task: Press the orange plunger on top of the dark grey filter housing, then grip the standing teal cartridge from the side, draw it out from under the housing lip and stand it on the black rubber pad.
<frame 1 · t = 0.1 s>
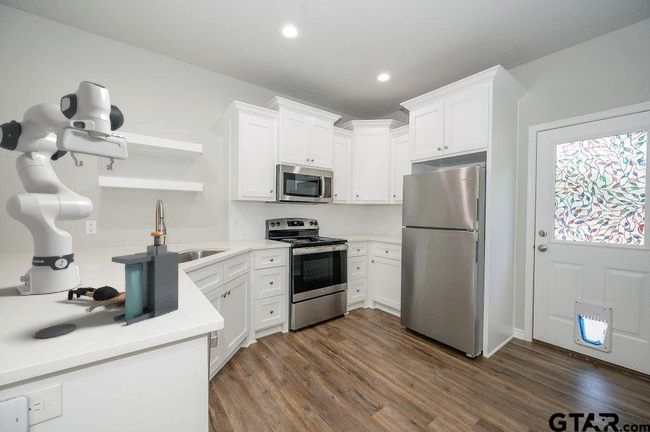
hand: (95, 168, 97), 48 cm above the counter, tool pointing down, fingers open, 8 cm apart
cartridge: (134, 318, 84), resting in housing
housing: (144, 314, 86), on the counter
pad: (56, 331, 74), on the counter
plunger: (157, 239, 89), point 24 cm above the counter, slide at 0.0 cm
figurine: (107, 303, 97), on the counter
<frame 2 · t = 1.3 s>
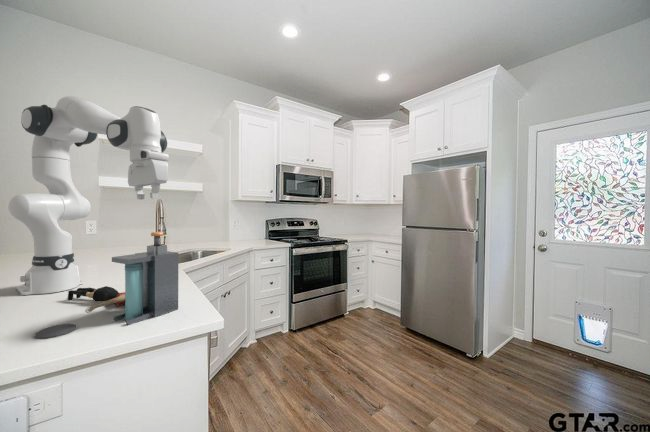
hand: (147, 198, 90), 37 cm above the counter, tool pointing down, fingers open, 8 cm apart
nothing on the counter moved.
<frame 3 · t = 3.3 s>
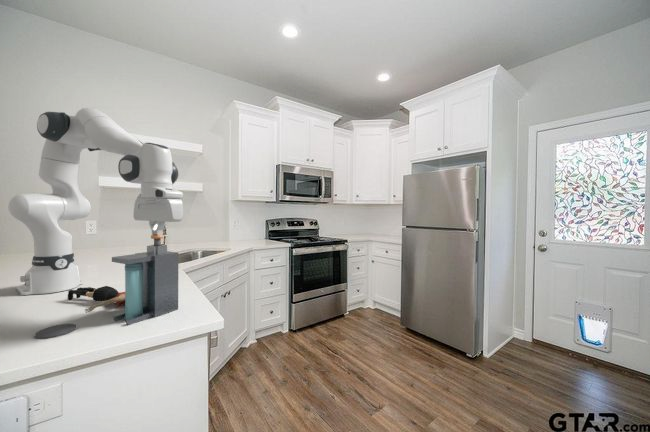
hand: (157, 235, 89), 25 cm above the counter, tool pointing down, fingers closed, pressing on plunger
plunger: (157, 241, 89), point 23 cm above the counter, slide at 0.9 cm, touching gripper
everything else where it was.
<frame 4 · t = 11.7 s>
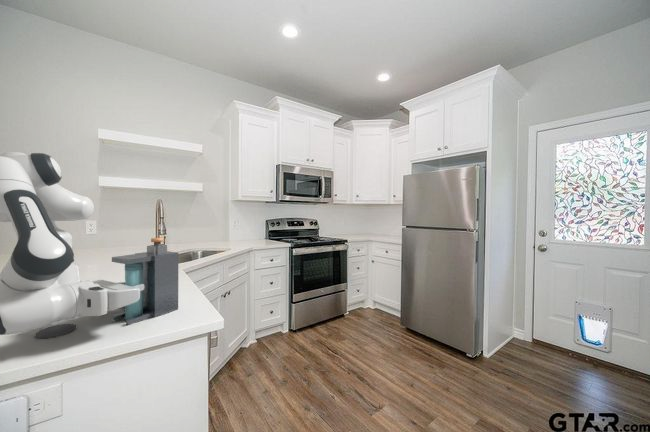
hand: (137, 285, 84), 10 cm above the counter, tool horizontal, fingers closed on cartridge, 4 cm apart
cartridge: (134, 318, 83), resting in housing, touching gripper
plunger: (157, 245, 89), point 22 cm above the counter, slide at 2.0 cm
everything else where it was.
when the fingers open (12 cm above the counter, at t = 18.1 s): cartridge drops 1 cm, resting on pad.
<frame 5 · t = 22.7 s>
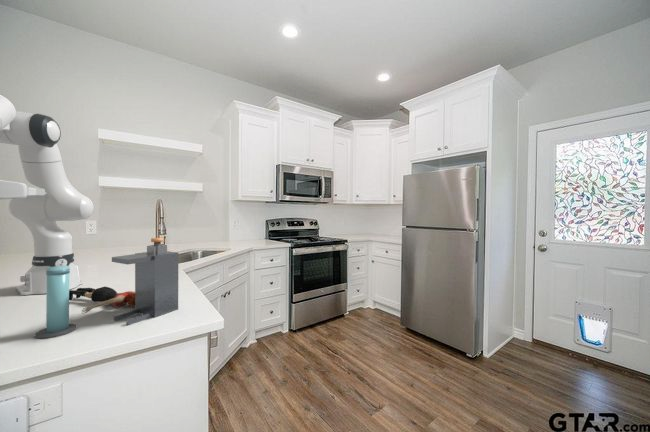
hand: (35, 192, 75), 38 cm above the counter, tool horizontal, fingers open, 8 cm apart
cartridge: (57, 329, 74), point 1 cm above the counter, touching pad
everything else where it was.
at the end: cartridge 0.3 cm from the pad (horizontally); cartridge tilted 1°; plunger slide at 2.0 cm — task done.
